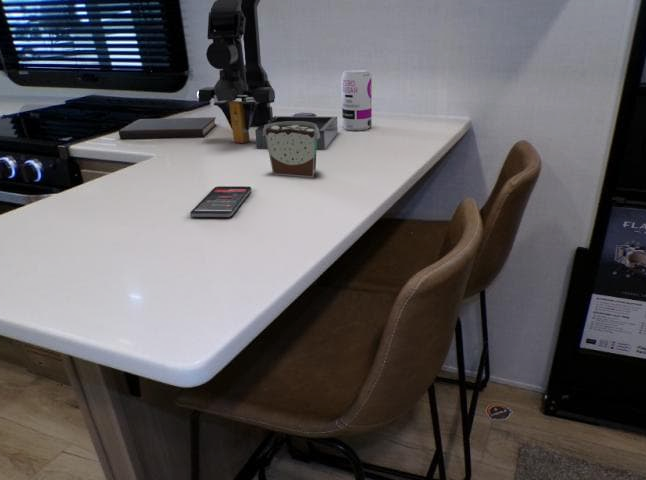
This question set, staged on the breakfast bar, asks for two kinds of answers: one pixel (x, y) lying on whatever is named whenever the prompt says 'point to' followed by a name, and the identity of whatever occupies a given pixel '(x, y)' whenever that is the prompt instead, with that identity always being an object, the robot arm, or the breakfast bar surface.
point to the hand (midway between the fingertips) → (240, 129)
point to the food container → (292, 147)
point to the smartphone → (221, 202)
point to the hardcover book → (168, 128)
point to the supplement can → (356, 99)
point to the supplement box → (238, 122)
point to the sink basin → (323, 123)
